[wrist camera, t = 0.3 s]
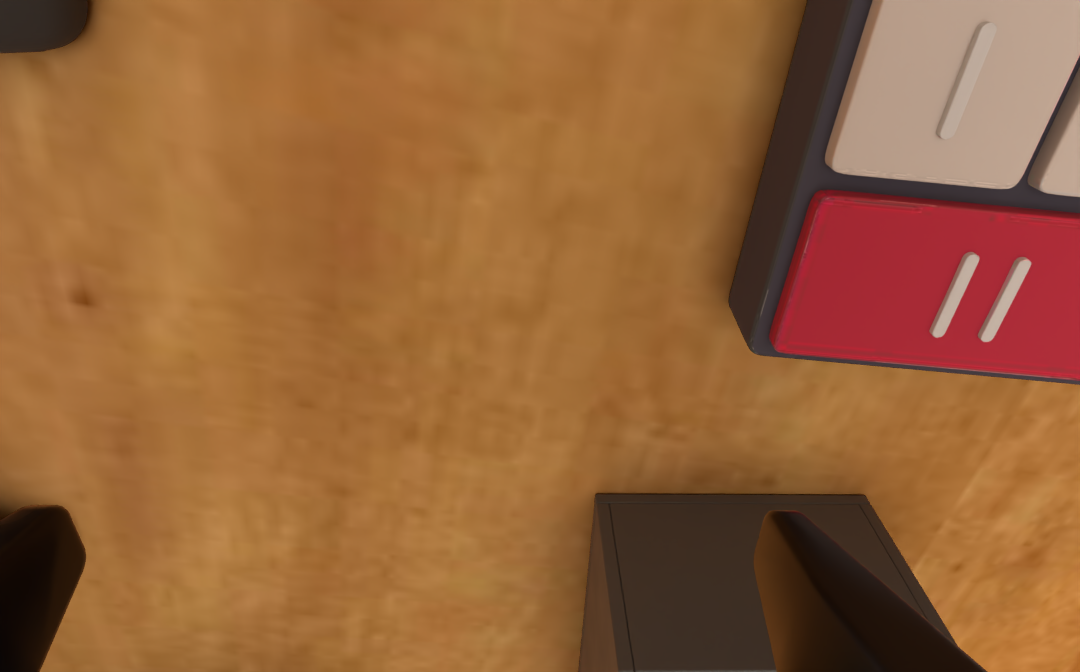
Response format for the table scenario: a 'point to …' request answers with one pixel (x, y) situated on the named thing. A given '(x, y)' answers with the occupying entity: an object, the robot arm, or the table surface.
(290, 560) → the table surface
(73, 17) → the computer mouse
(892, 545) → the carton
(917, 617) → the robot arm
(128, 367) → the table surface
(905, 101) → the calculator
